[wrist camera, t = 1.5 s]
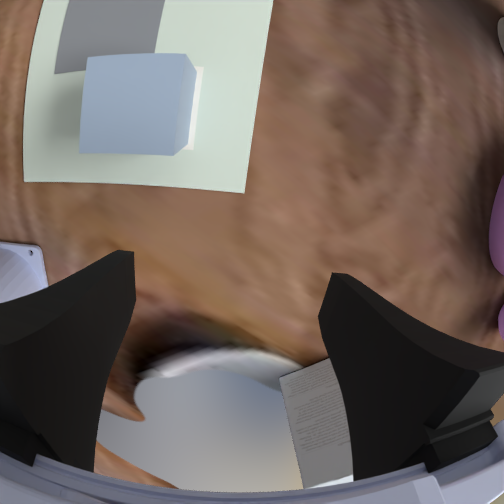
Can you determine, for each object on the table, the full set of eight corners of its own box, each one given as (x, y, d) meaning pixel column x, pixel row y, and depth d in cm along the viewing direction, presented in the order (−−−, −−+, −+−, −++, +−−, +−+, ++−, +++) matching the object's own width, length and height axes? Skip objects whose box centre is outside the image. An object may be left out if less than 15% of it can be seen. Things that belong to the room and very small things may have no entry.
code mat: (26, 180, 17) (23, 182, 16) (53, -23, 10) (51, -24, 10) (243, 192, 19) (244, 193, 19) (278, -34, 12) (279, -37, 12)
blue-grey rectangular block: (117, 141, 16) (79, 153, 11) (124, 71, 14) (87, 57, 9) (188, 144, 17) (173, 156, 12) (197, 72, 15) (185, 53, 10)
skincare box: (291, 398, 29) (315, 499, 18) (277, 376, 27) (301, 490, 16) (346, 376, 28) (385, 475, 17) (338, 352, 26) (383, 462, 15)
